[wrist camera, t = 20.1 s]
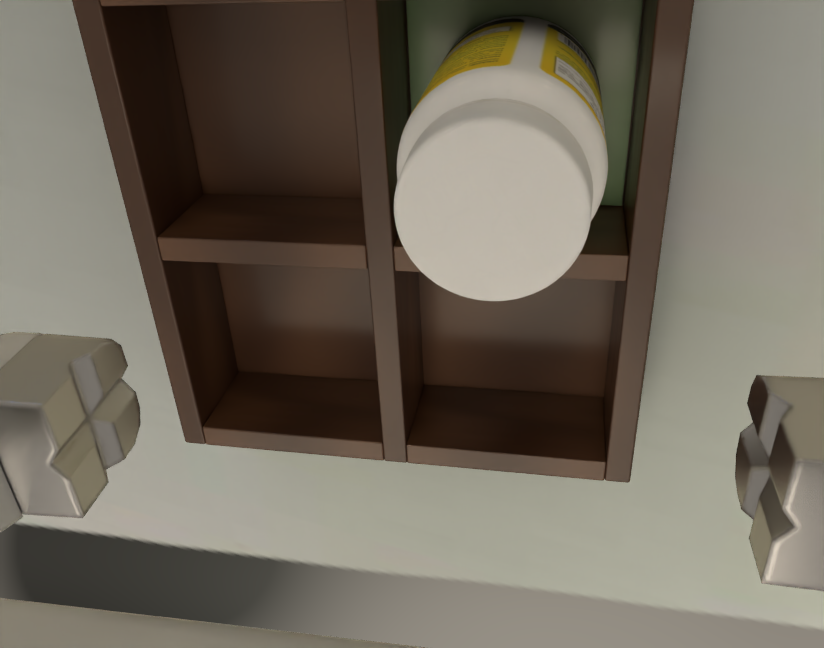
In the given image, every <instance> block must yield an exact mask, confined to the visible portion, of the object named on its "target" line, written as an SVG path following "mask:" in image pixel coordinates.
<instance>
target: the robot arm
mask: <svg viewBox="0 0 824 648" xmlns="http://www.w3.org/2000/svg"><path fill="white" fill-rule="evenodd" d="M127 366H128V365H127V362H126V359H125V356H124V353H123V350H122V347H121V345H120V344H118V343H117V342H115V341H114V340H112V339H107V338H94V337H81V336H68V335H55V334H41V333H24V332H12V333H6V334H1V335H0V532H2V531H3V530H4V529H6V528H8V527H9V526H11V525H12V524H14V523H15V522H17V521H18V520H19V519H21V518H22V517H23V516H22V514H28V515H43V516H58V517H73V518H83V517H84V516H85V514H86V513H87V511H88V510H89V509H90V507H91V506H92V504H93V503H94V502H95V500H96V499H97V497H98V496H99V495H100V493H101V492H102V490H103V489H104V488H105V486H106V485H107V483H108V477H107V472H106V469H108V468H110V467H111V466H113V465H115V464H117V463H119V462H120V461H122V460H124V459H125V458H126V456H127V455H128V453H129V452H130V450H131V449H132V447H133V446H134V444H135V442H136V438H137V434H138V431H139V427H140V406H139V403H138V399H137V395H136V392H135V391H134V390H133V389H132V388H131V387H130V386H129V385H128V384H127V383H126V382H125V381H124V380H123V379H122V376H123V374H124V372H125V370H126V368H127ZM747 404H748V407H749V410H750V414H751V417H752V420H753V423H752V424H750V425H749V426H748V427H747V428H746V429H744V430H743V431H742V432H741V433H740V437H739V443H738V448H737V453H736V471H735V479H736V487H737V494H738V498H739V502H740V506H741V509H742V510H743V511H744V512H745V513H746V514H747V515H749V516H750V517H751V518H752V519H753V524H752V528H751V532H750V536H749V540H750V543H751V547H752V550H753V554H754V558H755V561H756V565H757V568H758V572H759V575H760V579H761V583H762V584H770V585H778V586H787V587H795V588H803V589H811V590H820V591H824V378H815V377H790V376H765V375H757V376H756V378H755V380H754V382H753V384H752V386H751V390H750V394H749V398H748V402H747ZM0 648H425V647H416V646H408V645H399V644H390V643H382V642H374V641H365V640H356V639H347V638H339V637H331V636H322V635H313V634H305V633H296V632H287V631H279V630H270V629H262V628H253V627H243V626H236V625H227V624H218V623H210V622H201V621H192V620H184V619H175V618H166V617H158V616H149V615H140V614H131V613H123V612H115V611H106V610H98V609H89V608H80V607H71V606H64V605H54V604H45V603H38V602H29V601H21V600H11V599H3V598H0Z"/></svg>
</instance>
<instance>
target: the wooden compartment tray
mask: <svg viewBox="0 0 824 648" xmlns="http://www.w3.org/2000/svg"><path fill="white" fill-rule="evenodd" d="M72 2H73V6H74V10H75V14H76V17H77V21H78V25H79V29H80V33H81V37H82V41H83V45H84V49H85V52H86V56H87V60H88V64H89V68H90V72H91V76H92V80H93V83H94V87H95V91H96V95H97V99H98V103H99V107H100V111H101V115H102V118H103V122H104V126H105V130H106V134H107V138H108V142H109V146H110V150H111V153H112V157H113V161H114V165H115V169H116V173H117V177H118V181H119V184H120V188H121V192H122V196H123V200H124V204H125V208H126V212H127V216H128V219H129V223H130V227H131V231H132V235H133V239H134V243H135V247H136V251H137V254H138V258H139V262H140V266H141V270H142V274H143V278H144V282H145V285H146V289H147V293H148V297H149V301H150V305H151V309H152V313H153V317H154V320H155V324H156V328H157V332H158V336H159V340H160V344H161V348H162V352H163V355H164V359H165V363H166V367H167V371H168V375H169V379H170V383H171V386H172V390H173V394H174V398H175V402H176V406H177V410H178V414H179V418H180V421H181V425H182V429H183V433H184V437H185V441H186V442H189V443H200V444H205V443H206V444H209V445H220V446H231V447H242V448H253V449H264V450H275V451H286V452H297V453H308V454H319V455H330V456H341V457H352V458H363V459H374V460H385V461H395V462H408V463H417V464H428V465H439V466H450V467H461V468H472V469H483V470H494V471H505V472H516V473H527V474H538V475H549V476H560V477H571V478H582V479H593V480H604V478H605V480H607V481H618V482H629V481H630V477H631V469H632V462H633V454H634V447H635V439H636V432H637V424H638V417H639V409H640V402H641V394H642V387H643V379H644V372H645V365H646V357H647V350H648V342H649V335H650V327H651V320H652V312H653V305H654V297H655V290H656V282H657V275H658V267H659V260H660V252H661V245H662V237H663V230H664V222H665V215H666V207H667V200H668V193H669V185H670V178H671V170H672V163H673V155H674V148H675V140H676V133H677V125H678V118H679V110H680V103H681V95H682V88H683V80H684V73H685V65H686V58H687V50H688V43H689V35H690V28H691V21H692V13H693V6H694V0H72ZM513 16H527V17H534V18H539V19H542V20H546V21H549V22H551V23H553V24H555V25H558V26H559V27H561V28H563V29H564V30H566V31H567V32H568V33H570V34H571V35H572V36H573V37H574V38H575V39H577V41H578V42H579V43H580V44H581V45H582V46H583V48H584V49H585V50H586V52H587V53H588V55H589V57H590V58H591V60H592V62H593V65H594V67H595V70H596V73H597V76H598V80H599V85H600V92H601V102H602V110H603V118H604V127H605V137H606V145H607V155H608V174H607V181H606V186H605V190H604V194H603V197H602V200H601V203H600V205H599V207H598V210H597V212H596V214H595V216H594V217H593V219H592V220H591V223H590V229H589V232H588V236H587V239H586V242H585V244H584V246H583V249H582V251H581V252H580V254H579V256H578V257H577V259H576V260H575V262H574V263H573V264H572V266H571V267H570V268H569V269H568V270H567V271H566V272H565V273H564V274H563V275H562V276H561V277H560V278H559V279H558V280H556V281H555V282H554V283H552V284H551V285H549V286H548V287H546V288H544V289H542V290H540V291H538V292H536V293H534V294H531V295H528V296H525V297H522V298H518V299H513V300H506V301H483V300H476V299H471V298H467V297H463V296H460V295H457V294H455V293H453V292H450V291H448V290H446V289H444V288H442V287H441V286H439V285H437V284H436V283H434V282H433V281H432V280H430V279H429V278H428V277H427V276H425V275H424V274H423V273H422V272H421V271H420V270H419V269H418V268H417V266H416V265H415V264H414V263H413V262H412V260H411V259H410V257H409V256H408V254H407V252H406V251H405V249H404V247H403V245H402V243H401V241H400V238H399V235H398V232H397V228H396V224H395V217H394V196H395V190H396V185H397V181H398V180H397V155H398V149H399V144H400V140H401V136H402V133H403V130H404V127H405V125H406V123H407V121H408V119H409V117H410V115H411V113H412V112H413V110H414V109H415V107H416V105H417V103H418V102H419V100H420V99H421V97H422V95H423V93H424V92H425V90H426V88H427V87H428V85H429V83H430V82H431V80H432V78H433V77H434V75H435V73H436V72H437V70H438V68H439V67H440V65H441V63H442V62H443V60H444V59H445V57H446V56H447V54H448V53H449V51H450V50H451V49H452V48H453V46H454V45H455V44H456V43H457V42H458V41H459V40H460V39H461V38H462V37H463V36H465V35H466V34H467V33H468V32H470V31H471V30H472V29H474V28H476V27H477V26H479V25H481V24H483V23H486V22H488V21H491V20H495V19H499V18H503V17H513Z"/></svg>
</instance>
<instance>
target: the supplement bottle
mask: <svg viewBox="0 0 824 648" xmlns="http://www.w3.org/2000/svg"><path fill="white" fill-rule="evenodd" d="M607 174H608V155H607V145H606V137H605V127H604V118H603V110H602V102H601V92H600V85H599V80H598V76H597V73H596V70H595V67H594V65H593V62H592V60H591V58H590V57H589V55H588V53H587V52H586V50H585V49H584V48H583V46H582V45H581V44H580V43H579V42H578V41H577V39H575V38H574V37H573V36H572V35H571V34H570V33H568V32H567V31H566V30H564V29H563V28H561V27H559V26H558V25H555V24H553V23H551V22H549V21H546V20H542V19H539V18H534V17H527V16H513V17H503V18H499V19H495V20H491V21H488V22H486V23H483V24H481V25H479V26H477V27H476V28H474V29H472V30H471V31H470V32H468V33H467V34H466V35H465V36H463V37H462V38H461V39H460V40H459V41H458V42H457V43H456V44H455V45H454V46H453V48H452V49H451V50H450V51H449V53H448V54H447V56H446V57H445V59H444V60H443V62H442V63H441V65H440V67H439V68H438V70H437V72H436V73H435V75H434V77H433V78H432V80H431V82H430V83H429V85H428V87H427V88H426V90H425V92H424V93H423V95H422V97H421V99H420V100H419V102H418V103H417V105H416V107H415V109H414V110H413V112H412V113H411V115H410V117H409V119H408V121H407V123H406V125H405V127H404V130H403V133H402V136H401V140H400V144H399V149H398V155H397V180H398V181H397V185H396V190H395V196H394V217H395V224H396V228H397V232H398V235H399V238H400V241H401V243H402V245H403V247H404V249H405V251H406V252H407V254H408V256H409V257H410V259H411V260H412V262H413V263H414V264H415V265H416V266H417V268H418V269H419V270H420V271H421V272H422V273H423V274H424V275H425V276H427V277H428V278H429V279H430V280H432V281H433V282H434V283H436V284H437V285H439V286H441V287H442V288H444V289H446V290H448V291H450V292H453V293H455V294H457V295H460V296H463V297H467V298H471V299H476V300H483V301H506V300H513V299H518V298H522V297H525V296H528V295H531V294H534V293H536V292H538V291H540V290H542V289H544V288H546V287H548V286H549V285H551V284H552V283H554V282H555V281H556V280H558V279H559V278H560V277H561V276H562V275H563V274H564V273H565V272H566V271H567V270H568V269H569V268H570V267H571V266H572V264H573V263H574V262H575V260H576V259H577V257H578V256H579V254H580V252H581V251H582V249H583V246H584V244H585V242H586V239H587V236H588V232H589V229H590V223H591V220H592V219H593V217H594V216H595V214H596V212H597V210H598V207H599V205H600V203H601V200H602V197H603V194H604V190H605V186H606V181H607Z"/></svg>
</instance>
